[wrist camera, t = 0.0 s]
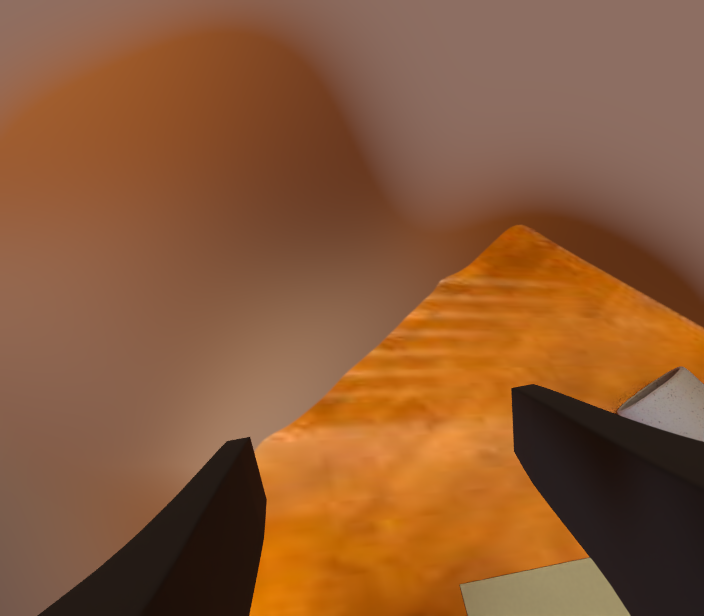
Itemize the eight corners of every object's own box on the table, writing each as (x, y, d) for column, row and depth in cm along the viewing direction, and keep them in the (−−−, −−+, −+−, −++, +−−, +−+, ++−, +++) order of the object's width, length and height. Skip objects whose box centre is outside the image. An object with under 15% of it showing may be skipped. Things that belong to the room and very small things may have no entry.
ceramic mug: (676, 488, 38) (739, 473, 31) (603, 420, 41) (646, 394, 35) (735, 426, 41) (803, 401, 34) (662, 368, 44) (711, 336, 38)
